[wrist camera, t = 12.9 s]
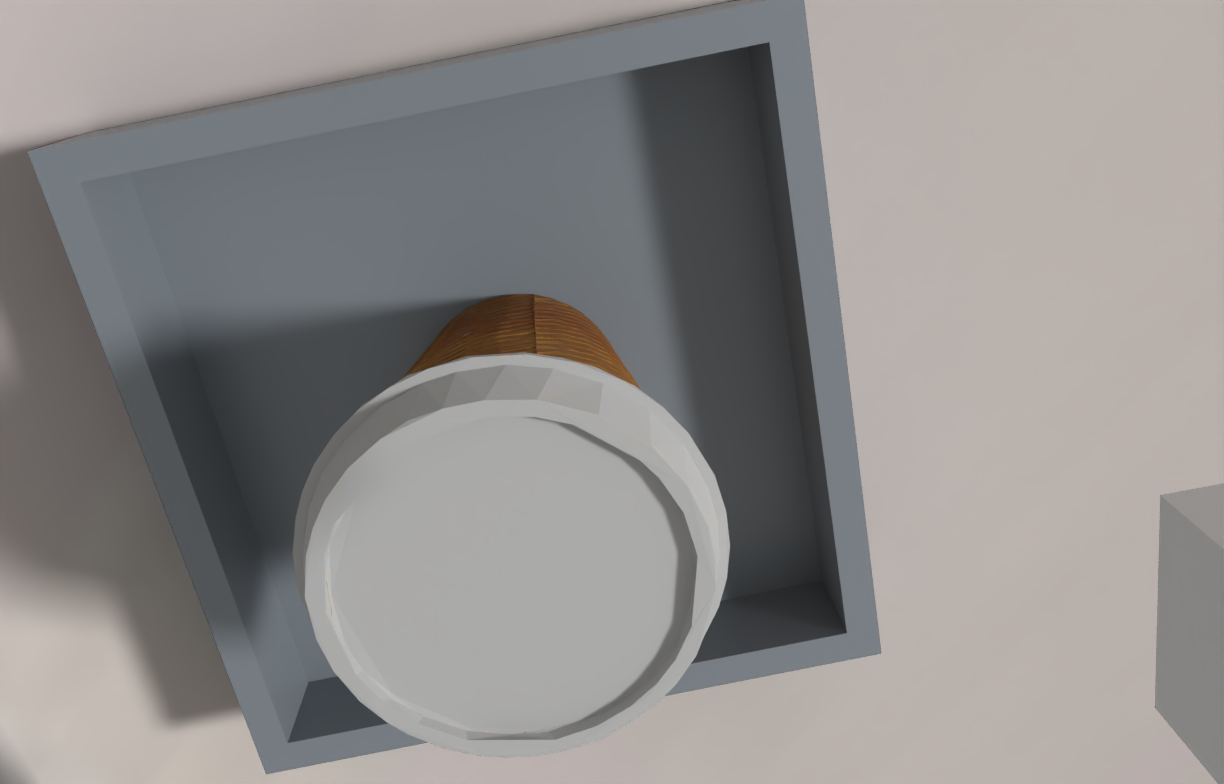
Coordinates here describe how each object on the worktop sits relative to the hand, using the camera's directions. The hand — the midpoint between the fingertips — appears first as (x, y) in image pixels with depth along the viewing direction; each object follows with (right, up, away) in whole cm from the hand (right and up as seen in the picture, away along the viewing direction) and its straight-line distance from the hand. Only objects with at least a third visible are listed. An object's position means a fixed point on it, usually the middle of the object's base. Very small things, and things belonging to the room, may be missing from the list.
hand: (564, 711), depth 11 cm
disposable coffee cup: (-2, +4, +22) cm, 23 cm away
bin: (-3, +4, +23) cm, 23 cm away
